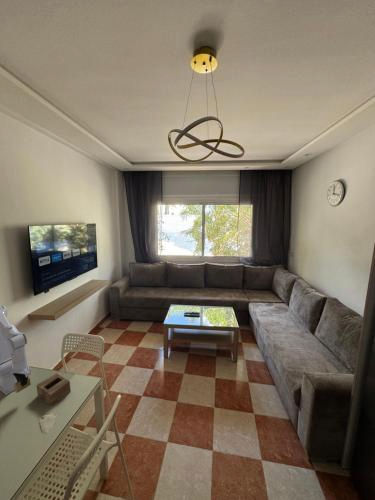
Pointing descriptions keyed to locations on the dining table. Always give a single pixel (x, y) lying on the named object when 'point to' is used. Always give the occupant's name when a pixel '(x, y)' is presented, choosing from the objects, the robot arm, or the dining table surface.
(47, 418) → the arrowhead
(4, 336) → the robot arm
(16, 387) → the gold metal block
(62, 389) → the box
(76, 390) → the dining table surface
